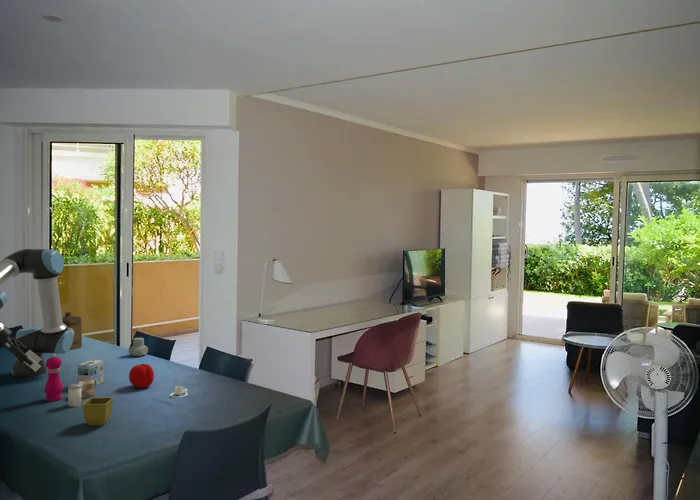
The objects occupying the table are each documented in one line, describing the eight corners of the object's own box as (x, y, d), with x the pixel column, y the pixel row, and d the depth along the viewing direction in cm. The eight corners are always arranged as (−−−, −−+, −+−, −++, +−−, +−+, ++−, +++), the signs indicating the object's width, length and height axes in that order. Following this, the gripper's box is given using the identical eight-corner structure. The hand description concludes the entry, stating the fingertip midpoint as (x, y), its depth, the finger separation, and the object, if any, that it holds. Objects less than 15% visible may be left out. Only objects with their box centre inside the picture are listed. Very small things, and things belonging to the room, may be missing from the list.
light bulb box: (89, 388, 261) (89, 365, 260) (77, 387, 262) (77, 364, 261) (104, 382, 271) (104, 360, 271) (91, 381, 272) (91, 359, 272)
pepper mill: (66, 397, 246) (66, 352, 245) (53, 402, 239) (53, 356, 238) (54, 395, 248) (54, 351, 247) (40, 400, 241) (40, 354, 241)
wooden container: (49, 349, 339) (49, 313, 338) (65, 344, 353) (65, 309, 352) (71, 350, 336) (71, 314, 335) (86, 345, 351) (86, 310, 350)
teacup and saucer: (184, 391, 260) (184, 382, 260) (192, 395, 254) (193, 386, 254) (166, 395, 254) (166, 386, 254) (174, 399, 248) (175, 390, 248)
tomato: (145, 391, 258) (146, 367, 257) (123, 389, 260) (123, 365, 260) (159, 384, 270) (159, 361, 269) (138, 382, 272) (138, 359, 271)
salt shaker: (72, 402, 239) (72, 383, 239) (84, 403, 239) (84, 383, 239) (65, 406, 234) (65, 386, 233) (77, 407, 234) (77, 387, 233)
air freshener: (136, 353, 333) (136, 336, 333) (149, 353, 332) (149, 337, 332) (126, 357, 323) (127, 340, 322) (140, 357, 321) (140, 340, 321)
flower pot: (90, 419, 219) (90, 397, 219) (113, 419, 220) (113, 397, 219) (81, 428, 210) (81, 404, 210) (105, 427, 211) (105, 404, 210)
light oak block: (79, 398, 246) (79, 384, 246) (78, 394, 251) (78, 381, 251) (94, 396, 249) (94, 383, 248) (93, 392, 254) (93, 379, 254)
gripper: (-8, 334, 242) (32, 365, 249) (-14, 345, 220) (30, 379, 227) (7, 321, 244) (46, 352, 252) (2, 331, 222) (45, 365, 230)
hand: (38, 365), depth 239 cm, fingers open, 13 cm apart
